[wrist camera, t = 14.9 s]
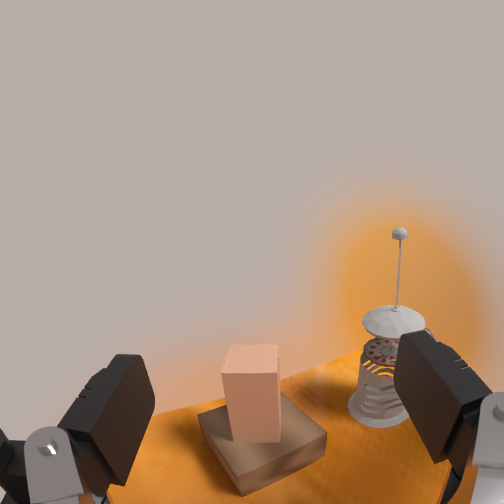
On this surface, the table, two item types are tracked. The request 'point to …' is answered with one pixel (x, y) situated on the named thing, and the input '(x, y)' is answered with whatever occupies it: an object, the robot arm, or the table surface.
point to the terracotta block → (253, 392)
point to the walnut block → (264, 447)
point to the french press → (383, 361)
